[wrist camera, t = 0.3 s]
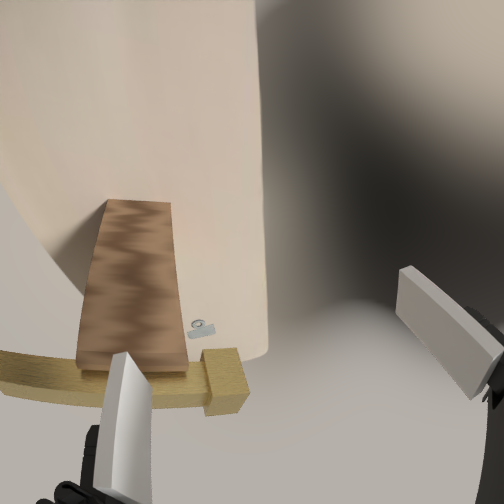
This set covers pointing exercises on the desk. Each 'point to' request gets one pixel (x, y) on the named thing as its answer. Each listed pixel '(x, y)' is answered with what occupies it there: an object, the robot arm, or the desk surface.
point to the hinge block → (133, 292)
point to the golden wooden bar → (163, 383)
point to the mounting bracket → (201, 330)
